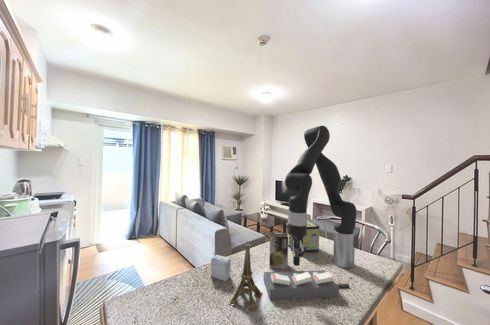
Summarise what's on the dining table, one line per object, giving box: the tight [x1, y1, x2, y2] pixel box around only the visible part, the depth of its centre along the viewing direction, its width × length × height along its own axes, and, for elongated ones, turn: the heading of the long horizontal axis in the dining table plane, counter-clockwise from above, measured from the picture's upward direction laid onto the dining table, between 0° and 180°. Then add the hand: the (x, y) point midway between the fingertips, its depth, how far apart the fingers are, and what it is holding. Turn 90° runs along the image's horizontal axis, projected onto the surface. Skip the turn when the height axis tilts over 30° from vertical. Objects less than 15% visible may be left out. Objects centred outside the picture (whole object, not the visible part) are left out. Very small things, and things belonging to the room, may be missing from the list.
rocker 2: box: [292, 272, 312, 285], centre depth 83 cm, size 7×4×2 cm, turn 96°
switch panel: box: [263, 270, 350, 300], centre depth 86 cm, size 36×12×5 cm, turn 96°
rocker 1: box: [271, 273, 290, 285], centre depth 82 cm, size 7×4×2 cm, turn 96°
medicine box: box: [210, 254, 232, 282], centre depth 92 cm, size 8×4×9 cm, turn 65°
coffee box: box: [268, 231, 289, 270], centre depth 104 cm, size 9×6×16 cm
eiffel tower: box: [228, 242, 263, 313], centre depth 78 cm, size 11×11×25 cm
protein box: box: [288, 220, 320, 254], centre depth 125 cm, size 10×16×16 cm
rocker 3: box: [313, 271, 334, 284], centre depth 84 cm, size 7×4×2 cm, turn 96°
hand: (296, 264), depth 82 cm, fingers closed
